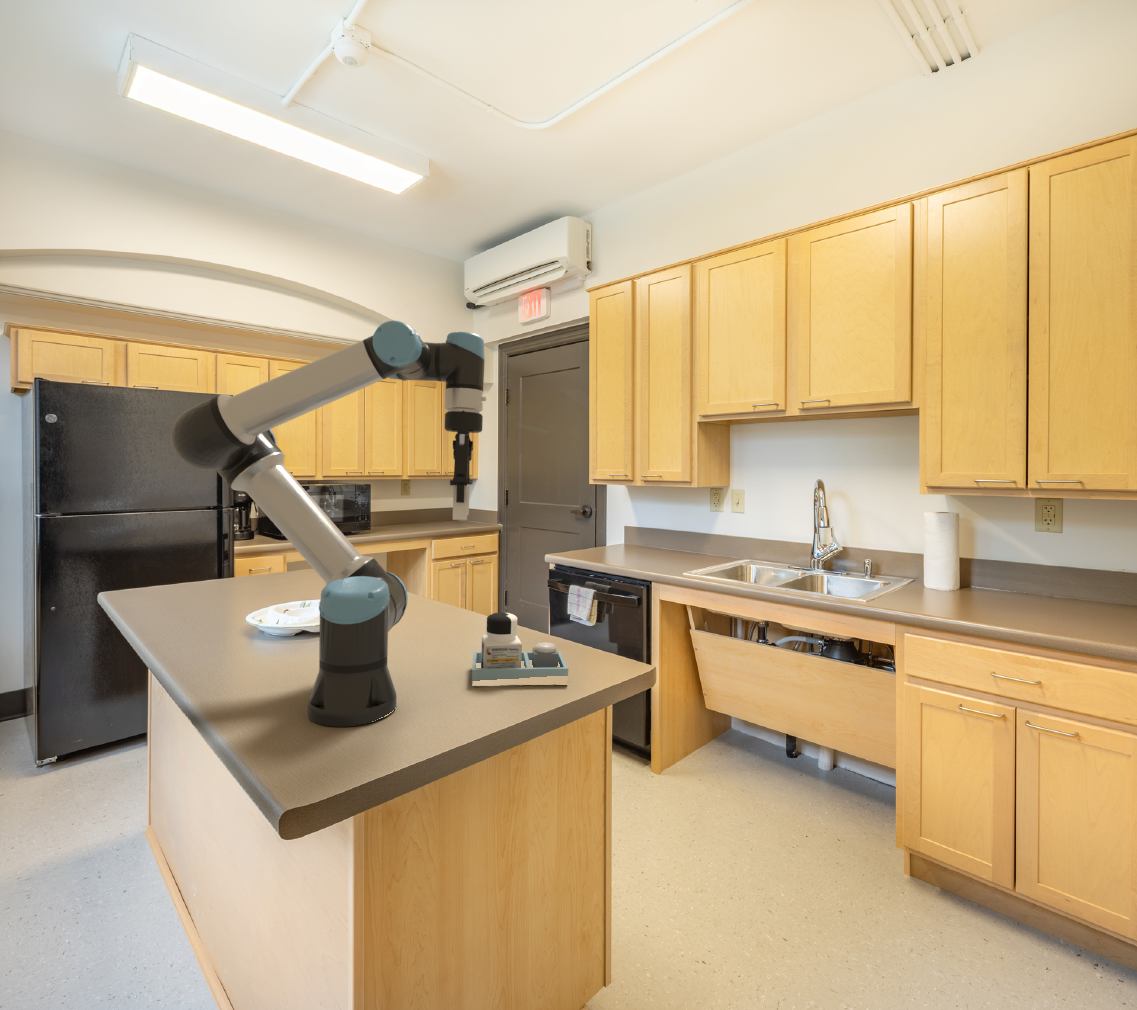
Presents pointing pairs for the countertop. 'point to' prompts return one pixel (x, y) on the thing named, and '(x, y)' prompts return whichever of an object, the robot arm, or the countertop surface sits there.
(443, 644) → the countertop surface
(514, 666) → the container
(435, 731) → the countertop surface
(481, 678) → the tray
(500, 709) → the countertop surface
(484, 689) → the countertop surface
